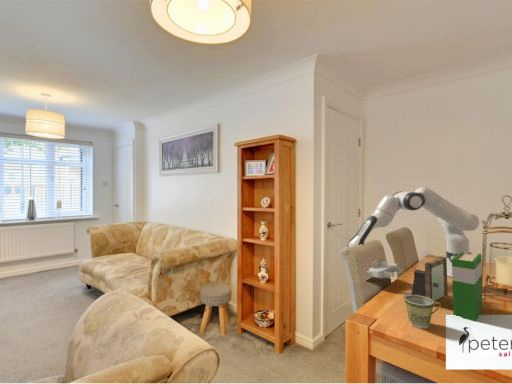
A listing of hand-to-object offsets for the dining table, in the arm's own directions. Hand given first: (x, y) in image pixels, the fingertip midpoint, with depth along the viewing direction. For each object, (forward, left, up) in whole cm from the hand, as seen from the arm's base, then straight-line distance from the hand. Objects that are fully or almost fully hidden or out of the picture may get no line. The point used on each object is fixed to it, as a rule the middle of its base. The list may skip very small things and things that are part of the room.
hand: (398, 273), depth 147 cm
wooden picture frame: (0, +19, -8) cm, 20 cm away
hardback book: (+3, +32, -9) cm, 33 cm away
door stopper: (0, +12, -8) cm, 15 cm away
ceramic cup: (+30, +25, -9) cm, 40 cm away
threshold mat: (0, +12, -8) cm, 15 cm away
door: (0, +19, -8) cm, 21 cm away
